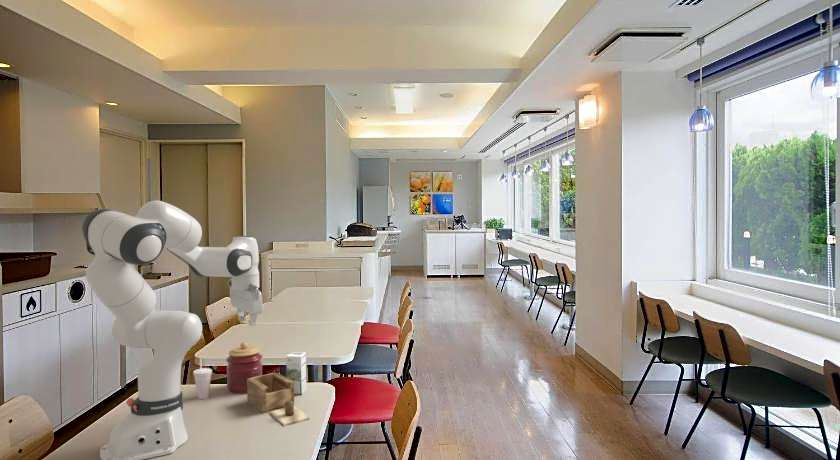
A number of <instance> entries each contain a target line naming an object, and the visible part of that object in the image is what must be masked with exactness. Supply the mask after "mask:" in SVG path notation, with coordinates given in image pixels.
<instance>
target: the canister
mask: <svg viewBox="0 0 840 460" xmlns="http://www.w3.org/2000/svg"><path fill="white" fill-rule="evenodd" d="M260 352H261V350H260V348H258V347H256V346H255V345H254V346H253V345H248V343H247V342H246V341H245V342H241V343H240V346H235V347H234V348H232V349H231V350H230V351H229V352H228V356H227V358H226V360H225V361H226V362H227V367H226V378H227V379H226V381H227V382H226V388H227V391H228V392H229V393H232V394H238V395H239V394H241V395H242V394H247V379H248V378H252V377H257V376H261V375H263V363H262V360H261V359H262V358H263V355H262V354H261V353H260Z"/></svg>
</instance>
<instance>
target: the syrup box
mask: <svg viewBox="0 0 840 460" xmlns="http://www.w3.org/2000/svg"><path fill="white" fill-rule="evenodd" d="M285 359H286V378H288V379H290V380H291V381H293V382H294V396H295V395H298V396H299V395H300V396H301V395H303V394H304V393H305V392H306V391H307V354H306V352H305V351H303V352H302V351H301V352H299V351H291V352H289V353H288V354H287V355H286V357H285Z"/></svg>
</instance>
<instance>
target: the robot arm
mask: <svg viewBox="0 0 840 460" xmlns="http://www.w3.org/2000/svg"><path fill="white" fill-rule="evenodd" d="M81 229H82V230H81V231H82V236H83V238H84V240H85V245H86V250H87V253H89V254H91V255H93V256H95V257H94V259H93V260H92V261H91V262H90V263H89V264H88V266H87V268H86V270H85V278H86V281H87V282H88V285H89V286H90V288H91V290H92V291H93V293H94V294H95V296H96V297H97V298H98V299H99V300H100V301H101V303H102V304H103V305H104V306H105V307H106V308H107V309H108V310H109V312H110V313H111V314H112V315H113V316H114V317H115V320H114V322H113V323H112V327H111V335H112V338H113V339H114V341H115V342H116V343H117V344H119V345H121V346H124V347H127V348H133V349H153V356H152V360H150V361H148V362H146V363H145V364H143V365H142V366H141V367H140V369H139V370H138V373H137V390H138V391H137V393H138V396H137V398H136V399H134V398H133V397H130V398H129V397H128V399H127V400H126V405H127V406H128V407H130V412H129V414H127V415H126V416H125V417H124V418H123V419H122V420H121V421H119V422H118V423H117V424H116V425H114V427H113V428H112V429H111V431H110V434H109V439H108V443H107V444H104V445H102V446H101V448H100V450H99V459H100V460H147V459H151V458H155V457H160V456H165V455H170V454H172V453H174V452H175V451H176V449H178V448H179V447H181V446H182V445H184V444H185V443H186V442H187V441H188V439H189V434H188V432H187V429H186V425H185V421H184V415H183V408H184V396H183V391H182V390H181V389H182V387H181V386H182V385H181V384H182V383H181V382H182V381H181V379H182V378H181V374H182V373H181V371H182V365H183V361H184V359H185V356H186V354H188V351H189V350H190V349H191V348H193V347H194V346H195V345H196V344H197V343H198V342H199V341H200V338H201V336H202V333H203V324H202V323H203V322H202V321H201V318H200V317H199V316H198V315H197V314H196V313H192V312H188V311H183V310H161V309H156V308H155V307H156V305H157V294H156V292H155V290H154V289H153V287H151V286H150V285H149V283H148V282H147V281H146V279H144V277H143V276H142V275H141V273H139V271H138V270H137V269H136V266H148V265H150V264H152V263H153V262H154V261H155V260H157V259H158V257H160V255H161V254H162V252H163V250H164V248H165V249H166V250H167V251H168V252H170V253H171V254H172V255H174V256H175V257H177V258H178V259H179V260H181V261H182V262H183V263H185V264H186V265H187V266H188V267H189V268H190V269H191V271H192V272H193V274H194V275H196V276H197V277H200V278H209V277H215V278H218V277H219V278H220V277H222V278H223V277H225V278H230V279H229V280H228V281H227V284H228V287H229V298H230V304H231V307H232V308H233V307H234V308H235V309H236V312H237V316H238V322H245V321H246V316H245V312H246V313H249V320H248V325H249V326H250V327H255V326H256V324H257V322H256V320H257V317H258V315H260V314H262V313H263V311H264V306H263V305H264V304H263V296H262V295H263V294H262V292H261V291H260V290H259V288H260V270H259V262H260V256H259V255H260V253H259V246H258V242H257V239H256V238H255V237H254V236H248V235H236V236H233V237H232V241H231V243H230V244H228V245H226V247H225V246H224V247H223V246H221V247H219V246H198V245H199V244H200V242H201V240H202V236H203V235H202V234H203V229H202V225H201V224H200V222H198V220H197V219H196V218H194V217H193V216H192V215H190V214H189V213H187V211H184V210H183V209H180V208H179V207H177V206H175V205H173V204H170V203H168V202H164V201H162V200H151V201H148V202H146V203H144V205H142V206H141V207H140V208H139V210H138V212H137V214H136V215H130V214H128V213H127V214H126V213H124V212H120V211H119V210H116V209H111V208H99V209H95V210H93V211H91V212H90V213H88V214H87V216H86V217H85V219H84V220H83V222H82V228H81Z"/></svg>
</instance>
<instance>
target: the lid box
mask: <svg viewBox="0 0 840 460" xmlns="http://www.w3.org/2000/svg"><path fill="white" fill-rule="evenodd" d="M246 394H247V397H246V398H247V402H248V403H249V405H250V404H251V406H252V407H254V408H256V409H257V410H258V411H260V412H261V413H263V414H266V413H267V414H268V413H270V411H274V410H278V409H282V408H285V402H287V401H293V402H294V403H295V394H294V382H293V381H291V380H290V379H288V378H287V376H284V375H283V374H280V373H279V372H277V371H276V372H272V373H271V372H270V373H267V374H262V375H261V376H257V377H252V378H248V379H247V393H246Z"/></svg>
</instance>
